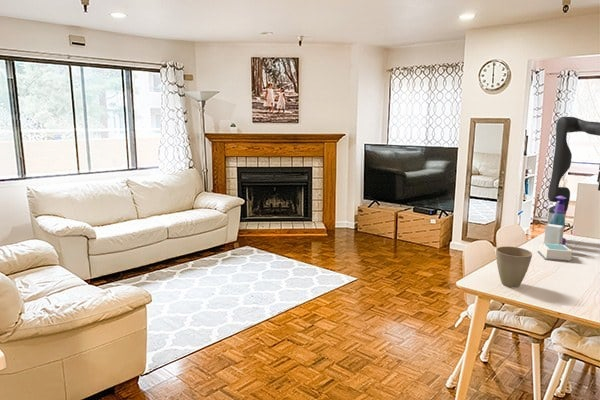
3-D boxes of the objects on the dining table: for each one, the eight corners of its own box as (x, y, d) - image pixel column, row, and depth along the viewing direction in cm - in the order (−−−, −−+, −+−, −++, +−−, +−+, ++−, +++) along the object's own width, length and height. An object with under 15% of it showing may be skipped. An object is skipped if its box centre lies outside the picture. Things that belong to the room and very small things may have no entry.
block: (563, 253, 249) (539, 251, 252) (564, 244, 248) (540, 242, 251) (570, 260, 238) (546, 258, 241) (572, 251, 237) (547, 249, 240)
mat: (537, 252, 253) (537, 251, 253) (559, 253, 251) (559, 252, 251) (545, 259, 240) (545, 258, 240) (568, 261, 238) (568, 260, 237)
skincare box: (561, 251, 256) (565, 225, 253) (558, 253, 252) (561, 227, 249) (545, 247, 262) (549, 223, 259) (542, 249, 258) (545, 224, 255)
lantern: (549, 240, 276) (555, 193, 270) (569, 245, 267) (576, 196, 261) (539, 244, 268) (546, 195, 262) (560, 249, 259) (567, 198, 253)
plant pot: (497, 276, 215) (501, 244, 211) (531, 284, 205) (536, 250, 202) (488, 285, 203) (491, 251, 200) (523, 293, 194) (527, 258, 191)
